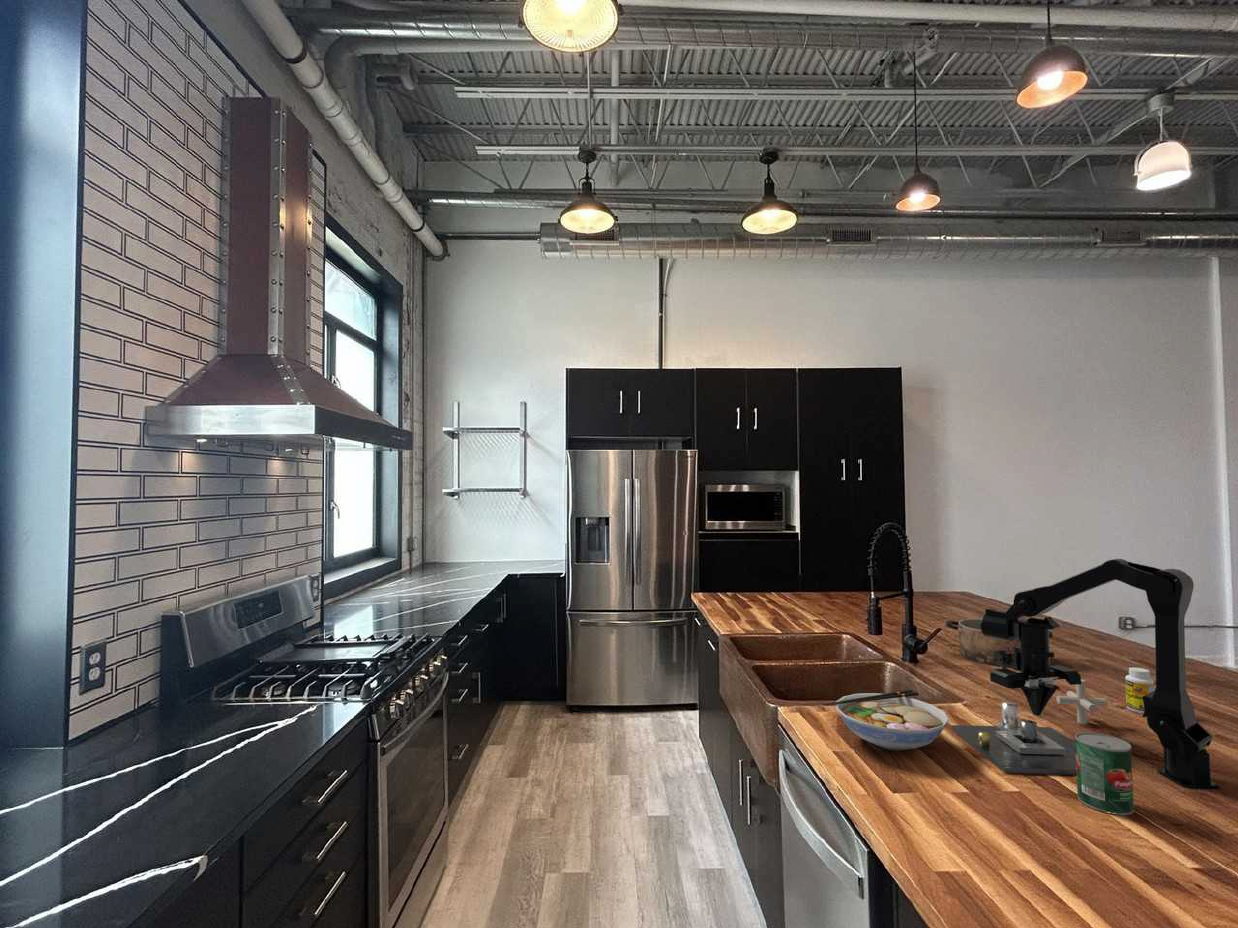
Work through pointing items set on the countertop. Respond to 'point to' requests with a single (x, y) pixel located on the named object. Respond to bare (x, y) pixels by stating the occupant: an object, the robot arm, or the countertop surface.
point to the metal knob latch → (1013, 734)
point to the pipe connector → (1082, 702)
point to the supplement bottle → (1137, 688)
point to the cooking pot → (981, 642)
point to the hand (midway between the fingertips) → (1036, 715)
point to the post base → (1014, 761)
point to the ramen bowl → (892, 719)
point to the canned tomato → (1104, 773)
